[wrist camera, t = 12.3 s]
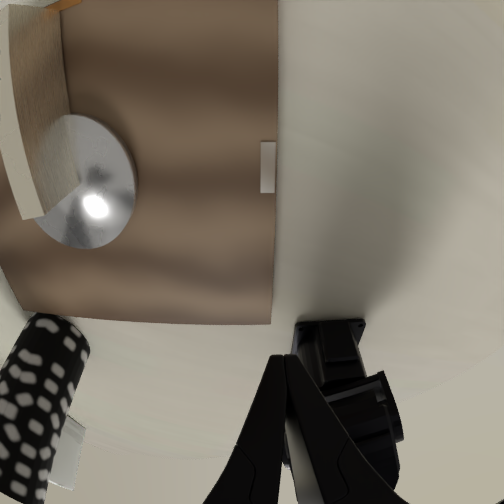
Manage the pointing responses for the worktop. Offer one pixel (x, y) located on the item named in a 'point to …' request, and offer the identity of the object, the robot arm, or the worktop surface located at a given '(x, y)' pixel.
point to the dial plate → (167, 165)
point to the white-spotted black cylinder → (37, 402)
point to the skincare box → (67, 455)
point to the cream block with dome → (57, 139)
